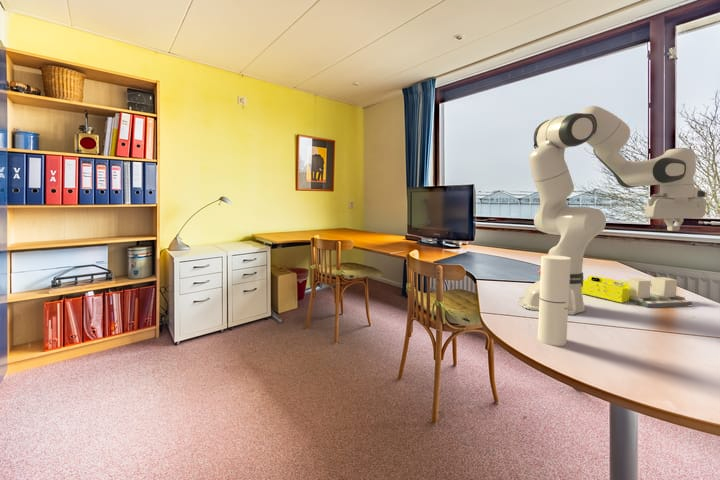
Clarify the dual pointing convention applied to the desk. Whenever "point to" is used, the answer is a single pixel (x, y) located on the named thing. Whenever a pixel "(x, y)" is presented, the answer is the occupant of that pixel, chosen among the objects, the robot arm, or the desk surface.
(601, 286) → the yellow toy chassis
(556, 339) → the cylindrical container
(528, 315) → the desk surface
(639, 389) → the desk surface
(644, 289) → the button
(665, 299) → the button board
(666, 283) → the button
